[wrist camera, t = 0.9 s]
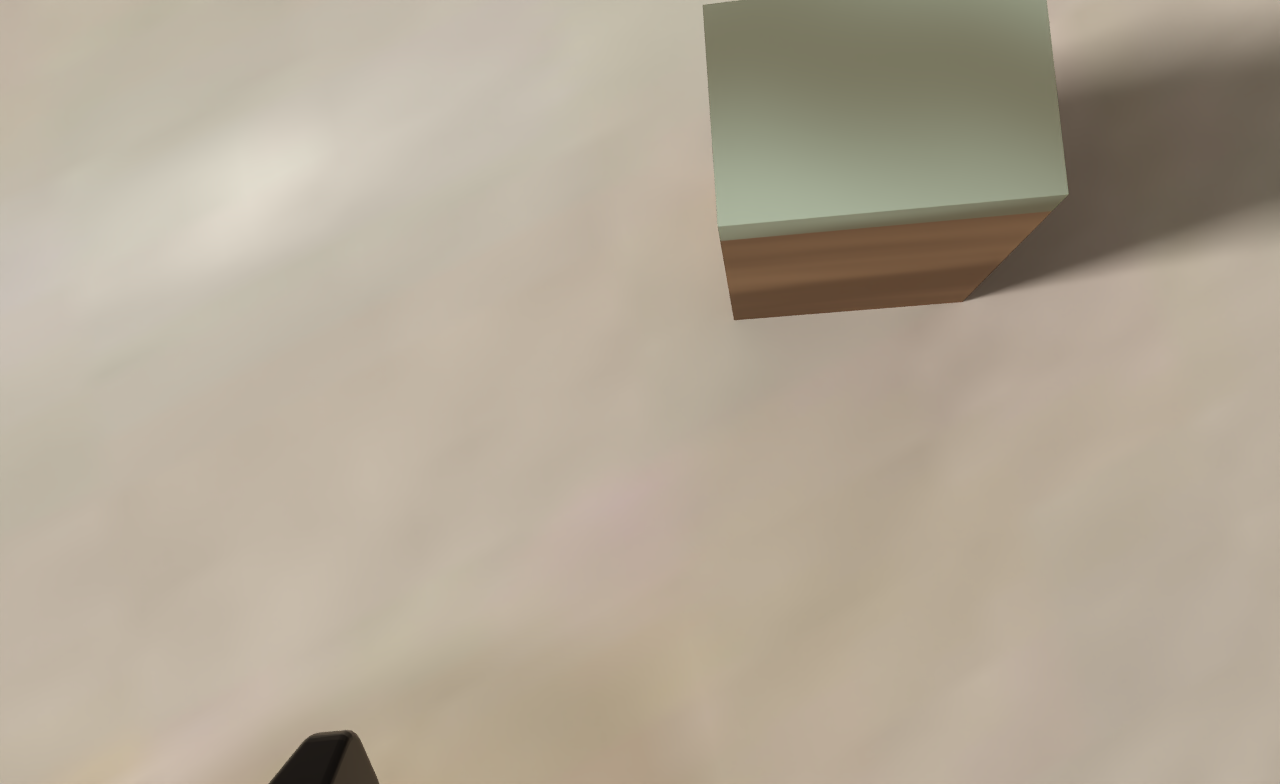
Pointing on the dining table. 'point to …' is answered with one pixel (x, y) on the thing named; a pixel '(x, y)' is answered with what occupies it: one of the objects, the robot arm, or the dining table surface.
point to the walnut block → (877, 147)
